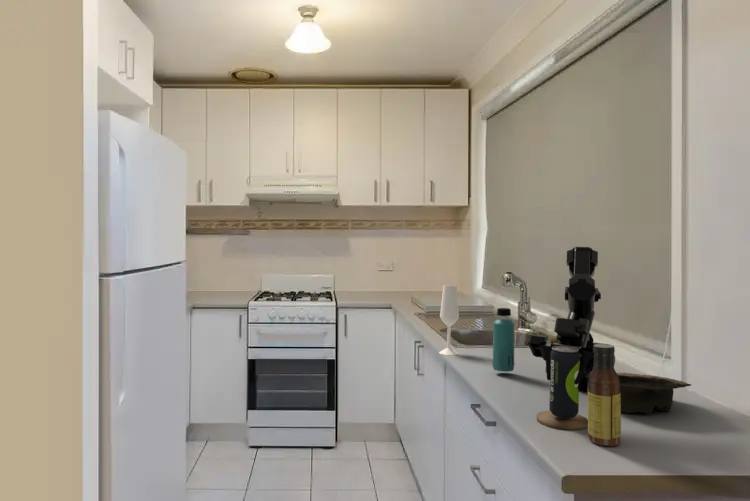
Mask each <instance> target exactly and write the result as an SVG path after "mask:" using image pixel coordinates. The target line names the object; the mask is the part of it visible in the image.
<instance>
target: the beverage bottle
mask: <svg viewBox="0 0 750 501" xmlns="http://www.w3.org/2000/svg"><path fill="white" fill-rule="evenodd" d="M511 312H512V311H511V309H510V308H508V307H507V308H506V307H498V308H497V309H496V316H500V317H511V316H512V313H511ZM492 324H493V334H492V335H493V336H492V337H493V338H492V339H493V340H492V342H493V343H492V368H493V370H494V371H497V372H507V373H508V372H512V371H514V370H515V323H514V321H513V320H512V319H509V318H497V319H496V320H494V321H493V323H492Z"/></svg>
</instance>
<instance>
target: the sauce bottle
mask: <svg viewBox="0 0 750 501" xmlns="http://www.w3.org/2000/svg"><path fill="white" fill-rule="evenodd" d="M615 350H616V348H615V346H614V345H612V344H610V345H609V343H603V344H595V345H593V352H594V367H593V370H592V372H591V374H590V376H589V382H588V391H587V420H588V427H587V433H588V439H589V441H590V442H591V443H593V444H595V445H597V446H601V447H602V446H603V447H616V446H618V445H620V443H621V435H622V418H621V413H622V412H621V393H620V381H619V377H618V375H617V373H618V372H616V368H615V367H614V366H615V364H614V360H613V359H614V358H613V354H615V352H616V351H615Z"/></svg>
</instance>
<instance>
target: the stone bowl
mask: <svg viewBox="0 0 750 501" xmlns="http://www.w3.org/2000/svg"><path fill="white" fill-rule="evenodd" d="M591 372H592V371H591ZM591 372H590V373H589V374H587V375H586V376H585V377H588V378H589V376H590V374H591ZM616 373H617V375H618V377H619V381H620V393H621V413H623V414H634V413H637V412H639V413H642V414H649V413H652V412H653V411H654V409H656V410H658V411H660V412H670V411H671V409H672V406H673V398H674V389H675V390H676V389H680V388H685V387H691V386H692V385H693V384H691V383H687V382H686V381H685V382H684V381H682V380H678V379H674V378H671V377H670V378H669V377H666V376H665V377H663V376H658V375H652V374H651V375H650V374H649V375H647V374H641V373H640V374H639V373H630V372H616Z"/></svg>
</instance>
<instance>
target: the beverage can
mask: <svg viewBox="0 0 750 501" xmlns="http://www.w3.org/2000/svg"><path fill="white" fill-rule="evenodd" d="M552 349H553V350H552V351H551V363H550V380H549V411H551V413H552V414H553V415H555V416H558V417H562V418H573V417H575V416H576V415H577V414H578V415H579V407H580V406H579V405H580V390H579V383H578V384H577V385H576V384H575V383H574V381H575V380H576V378H577V375H578V372H579V367H580V354H579V352H578V351H579V349H578V348H575V347H571V346H554V347H552Z"/></svg>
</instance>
